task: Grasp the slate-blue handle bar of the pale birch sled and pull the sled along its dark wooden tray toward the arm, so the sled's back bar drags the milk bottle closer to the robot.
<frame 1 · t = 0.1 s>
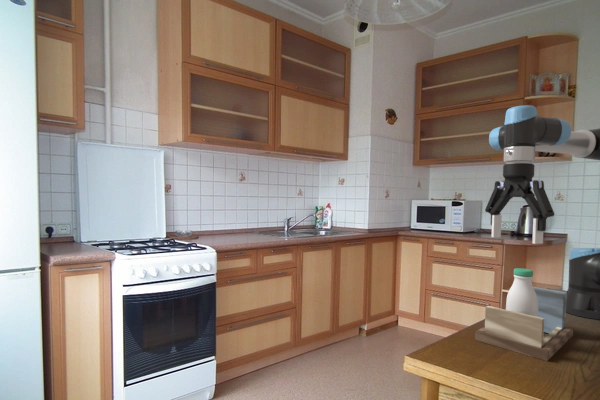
hand: (515, 240, 105), 28 cm above the table, fingers open, 13 cm apart
sled: (526, 315, 108), point 6 cm above the table, slide at 0.0 cm
milk bottle: (520, 342, 105), resting in sled
dark wooden tray: (524, 338, 108), on the table
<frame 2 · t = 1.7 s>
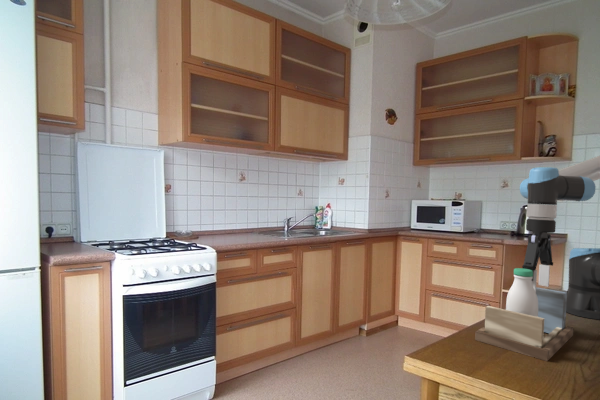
hand: (537, 288, 115), 12 cm above the table, fingers open, 13 cm apart
nothing on the table moved.
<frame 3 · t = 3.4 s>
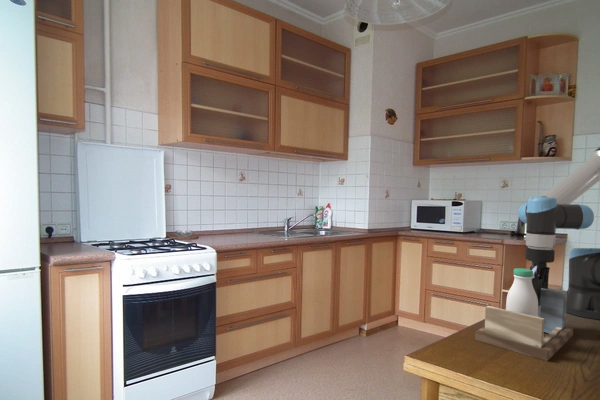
hand: (536, 324, 115), 1 cm above the table, fingers closed on sled, 4 cm apart
sled: (526, 315, 108), point 6 cm above the table, slide at 0.0 cm, touching gripper
everything else where it was.
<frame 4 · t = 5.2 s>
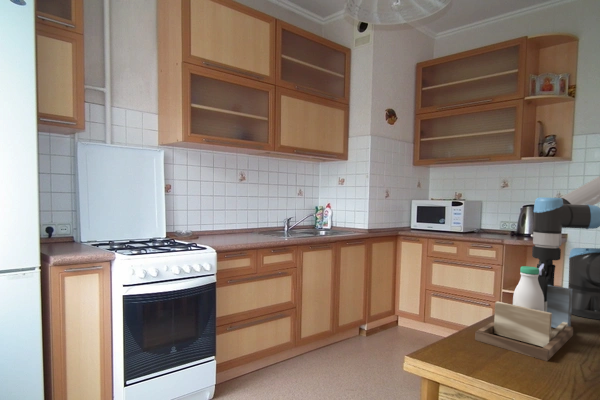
hand: (543, 319, 120), 1 cm above the table, fingers closed on sled, 4 cm apart
sled: (534, 310, 113), point 6 cm above the table, slide at 7.0 cm, touching gripper, milk bottle
milk bottle: (526, 337, 109), resting in sled
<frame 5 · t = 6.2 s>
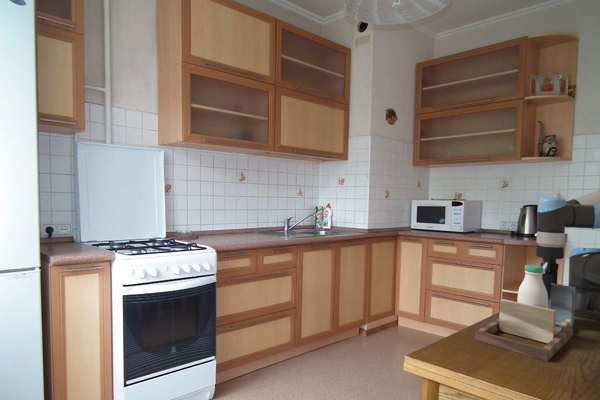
hand: (546, 317, 123), 1 cm above the table, fingers closed on sled, 4 cm apart
sled: (538, 308, 116), point 6 cm above the table, slide at 10.9 cm, touching gripper, milk bottle
milk bottle: (531, 334, 111), resting in sled
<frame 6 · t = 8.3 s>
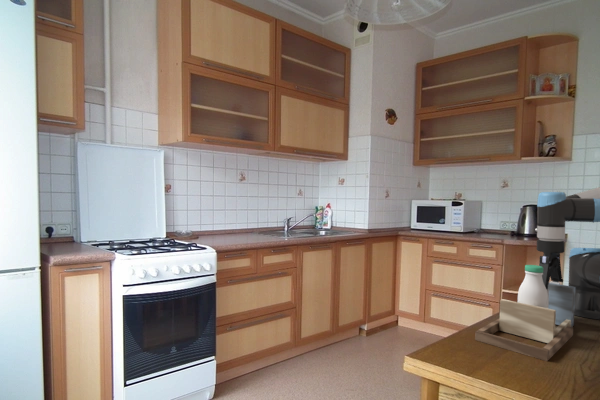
hand: (549, 305, 123), 5 cm above the table, fingers open, 13 cm apart
sled: (538, 308, 116), point 6 cm above the table, slide at 11.1 cm
milk bottle: (531, 334, 111), resting in sled
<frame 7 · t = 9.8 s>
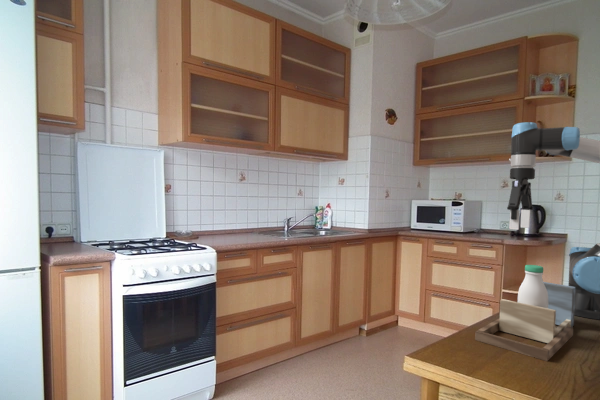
hand: (519, 228, 133), 29 cm above the table, fingers open, 13 cm apart
nothing on the table moved.
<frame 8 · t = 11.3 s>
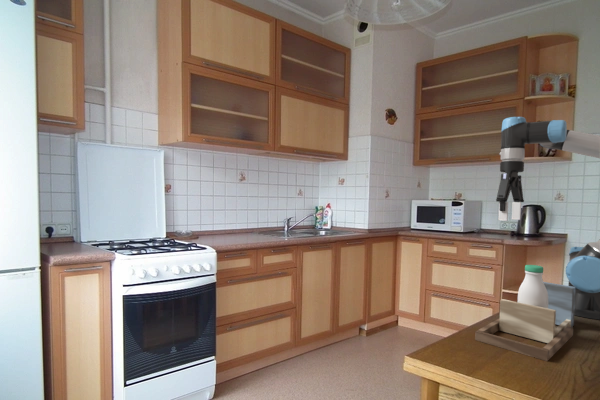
hand: (509, 220, 137), 32 cm above the table, fingers open, 13 cm apart
nothing on the table moved.
at the end: sled slide at 11.1 cm; milk bottle moved 9.3 cm from its start; milk bottle tilted 0° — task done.
